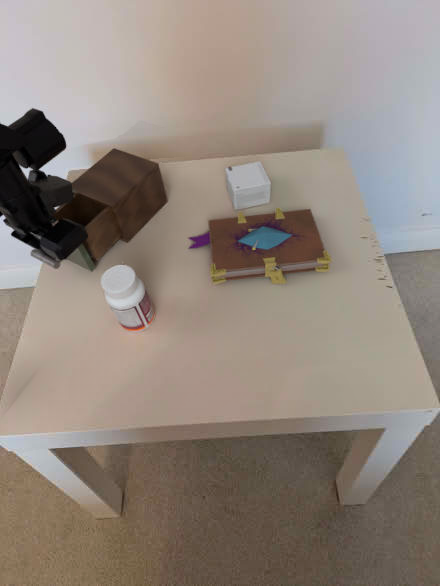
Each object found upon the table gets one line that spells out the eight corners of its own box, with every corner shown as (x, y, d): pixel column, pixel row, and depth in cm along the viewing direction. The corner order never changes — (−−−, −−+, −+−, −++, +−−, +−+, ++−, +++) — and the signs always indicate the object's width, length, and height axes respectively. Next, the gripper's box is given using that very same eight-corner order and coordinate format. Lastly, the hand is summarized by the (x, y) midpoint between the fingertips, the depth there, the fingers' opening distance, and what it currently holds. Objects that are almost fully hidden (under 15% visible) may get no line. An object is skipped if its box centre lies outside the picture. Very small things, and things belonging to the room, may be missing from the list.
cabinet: (127, 243, 73) (112, 206, 66) (85, 224, 78) (66, 187, 70) (168, 201, 80) (158, 163, 72) (126, 185, 84) (113, 147, 76)
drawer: (74, 289, 67) (55, 261, 60) (35, 268, 70) (13, 239, 64) (134, 228, 74) (122, 198, 68) (96, 212, 78) (82, 182, 72)
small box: (270, 203, 77) (271, 183, 73) (234, 211, 76) (232, 191, 72) (260, 180, 81) (260, 160, 77) (225, 187, 81) (224, 167, 77)
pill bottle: (143, 296, 66) (125, 254, 56) (162, 319, 63) (146, 279, 53) (113, 316, 64) (89, 276, 55) (131, 340, 61) (109, 302, 52)
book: (187, 233, 75) (183, 214, 71) (309, 219, 74) (312, 199, 71) (189, 297, 65) (185, 279, 61) (331, 281, 64) (335, 262, 60)
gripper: (93, 174, 54) (124, 245, 67) (10, 142, 61) (53, 212, 74) (36, 222, 49) (81, 290, 62) (-47, 181, 56) (9, 250, 69)
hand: (56, 257), depth 67 cm, fingers closed, pressing on drawer
